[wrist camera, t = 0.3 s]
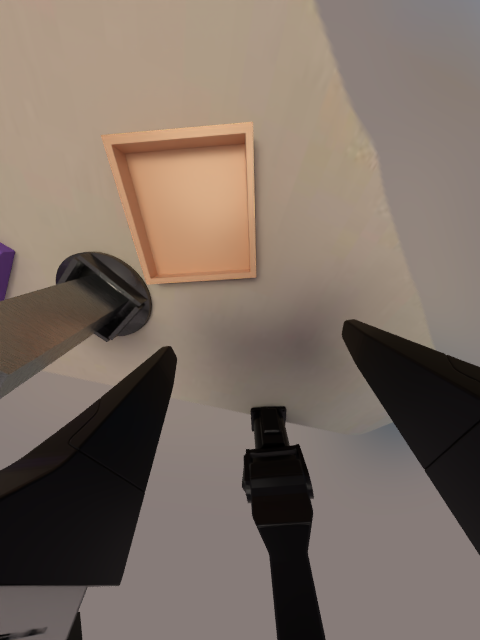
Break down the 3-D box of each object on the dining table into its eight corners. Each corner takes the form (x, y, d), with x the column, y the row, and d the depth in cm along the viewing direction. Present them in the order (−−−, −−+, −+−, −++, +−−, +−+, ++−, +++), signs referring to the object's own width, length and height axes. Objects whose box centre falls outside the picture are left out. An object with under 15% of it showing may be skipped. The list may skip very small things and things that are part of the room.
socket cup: (168, 299, 23) (161, 306, 21) (123, 345, 26) (113, 356, 24) (87, 229, 19) (68, 229, 17) (47, 294, 23) (27, 300, 21)
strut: (129, 299, 22) (-13, 388, 10) (111, 321, 24) (-34, 422, 11) (95, 273, 21) (-124, 337, 8) (78, 297, 22) (-132, 384, 10)
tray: (254, 272, 21) (256, 277, 19) (156, 278, 22) (146, 284, 20) (251, 137, 16) (252, 121, 14) (119, 148, 16) (100, 135, 14)
